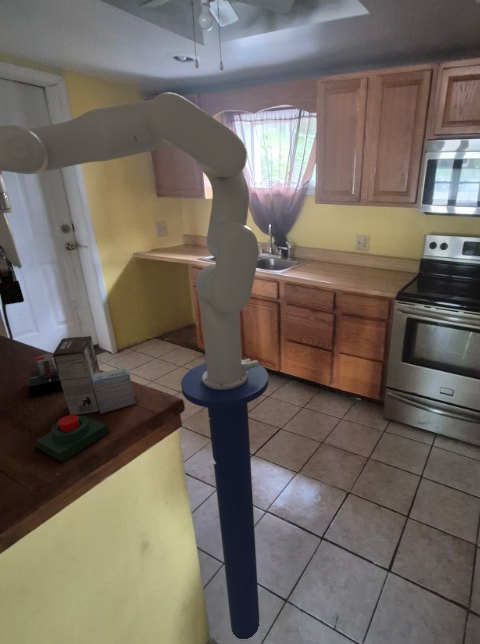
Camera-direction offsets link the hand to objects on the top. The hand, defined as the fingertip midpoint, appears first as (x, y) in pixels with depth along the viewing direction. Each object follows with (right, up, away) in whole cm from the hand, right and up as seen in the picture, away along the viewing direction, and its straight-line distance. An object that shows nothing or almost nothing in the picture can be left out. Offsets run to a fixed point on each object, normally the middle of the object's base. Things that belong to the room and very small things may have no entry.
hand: (12, 296), depth 72 cm
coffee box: (+4, -24, +18) cm, 31 cm away
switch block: (+9, -30, +6) cm, 32 cm away
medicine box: (+12, -25, +18) cm, 33 cm away
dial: (-10, -18, +25) cm, 33 cm away
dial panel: (-10, -21, +27) cm, 35 cm away
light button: (+9, -27, +4) cm, 28 cm away
